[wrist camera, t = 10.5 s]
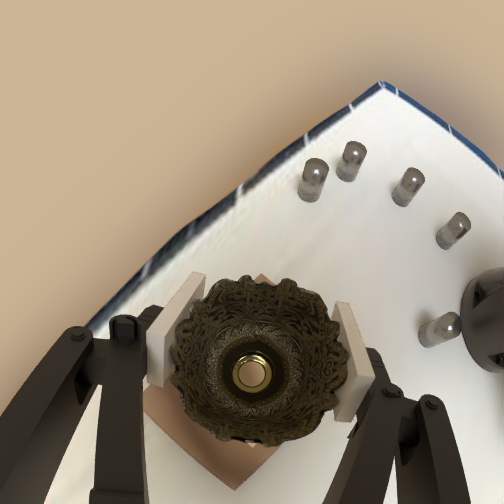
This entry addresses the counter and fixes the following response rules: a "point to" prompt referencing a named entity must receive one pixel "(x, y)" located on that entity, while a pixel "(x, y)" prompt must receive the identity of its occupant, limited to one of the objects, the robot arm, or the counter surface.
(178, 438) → the walnut pad
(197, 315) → the cup
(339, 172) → the spacer field
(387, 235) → the counter surface
